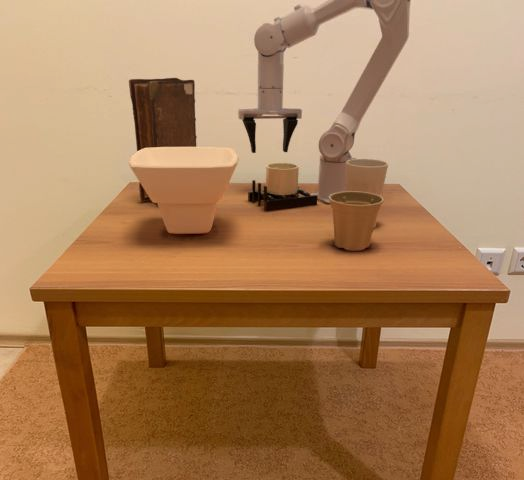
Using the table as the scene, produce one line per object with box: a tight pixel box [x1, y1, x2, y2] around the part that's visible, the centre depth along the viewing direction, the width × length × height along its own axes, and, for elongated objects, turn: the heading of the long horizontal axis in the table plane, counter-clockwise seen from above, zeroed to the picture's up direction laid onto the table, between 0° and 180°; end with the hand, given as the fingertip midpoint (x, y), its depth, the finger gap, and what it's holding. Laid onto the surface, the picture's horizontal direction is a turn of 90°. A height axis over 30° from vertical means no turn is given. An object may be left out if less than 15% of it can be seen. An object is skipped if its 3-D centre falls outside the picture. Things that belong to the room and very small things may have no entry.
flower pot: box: [329, 191, 385, 252], centre depth 91 cm, size 9×9×9 cm
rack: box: [247, 179, 318, 212], centre depth 116 cm, size 13×10×5 cm
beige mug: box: [265, 162, 300, 195], centre depth 116 cm, size 11×7×6 cm, turn 24°
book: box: [128, 77, 197, 203], centre depth 114 cm, size 17×7×25 cm, turn 144°
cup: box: [346, 158, 389, 228], centre depth 101 cm, size 8×8×12 cm
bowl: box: [128, 146, 239, 235], centre depth 96 cm, size 19×19×14 cm
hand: (269, 151), depth 121 cm, fingers open, 7 cm apart
